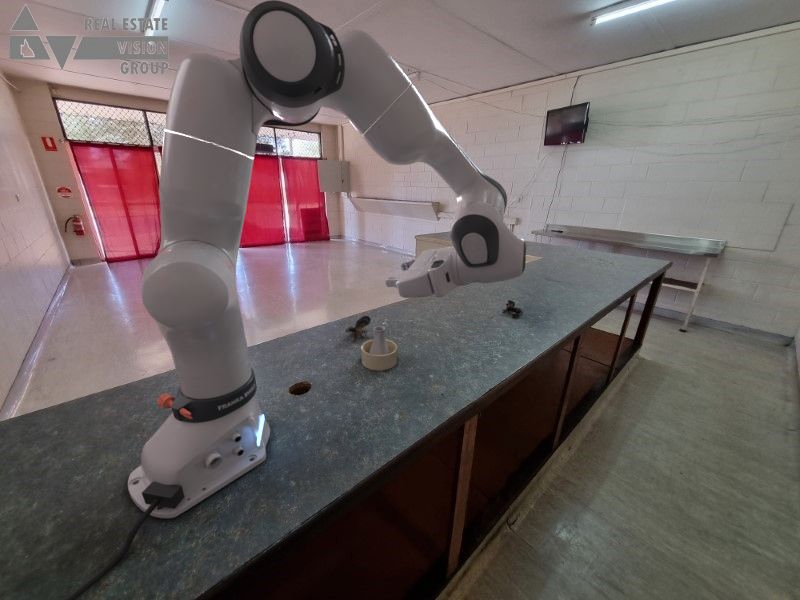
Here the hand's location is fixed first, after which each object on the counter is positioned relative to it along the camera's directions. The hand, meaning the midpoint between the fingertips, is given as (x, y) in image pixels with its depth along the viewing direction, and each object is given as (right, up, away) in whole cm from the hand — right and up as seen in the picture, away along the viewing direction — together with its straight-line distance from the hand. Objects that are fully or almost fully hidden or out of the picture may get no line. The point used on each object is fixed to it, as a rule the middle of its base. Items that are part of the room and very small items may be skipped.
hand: (395, 274), depth 77 cm
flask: (-5, -24, +13) cm, 28 cm away
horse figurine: (+44, -13, +47) cm, 65 cm away
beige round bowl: (-5, -24, +13) cm, 28 cm away
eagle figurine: (-12, -19, +27) cm, 35 cm away
